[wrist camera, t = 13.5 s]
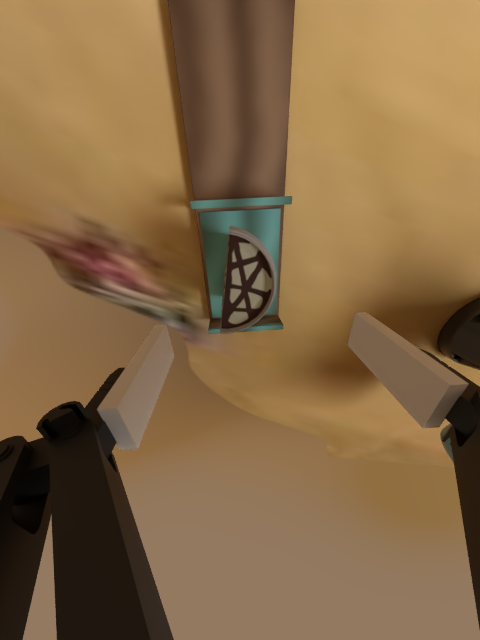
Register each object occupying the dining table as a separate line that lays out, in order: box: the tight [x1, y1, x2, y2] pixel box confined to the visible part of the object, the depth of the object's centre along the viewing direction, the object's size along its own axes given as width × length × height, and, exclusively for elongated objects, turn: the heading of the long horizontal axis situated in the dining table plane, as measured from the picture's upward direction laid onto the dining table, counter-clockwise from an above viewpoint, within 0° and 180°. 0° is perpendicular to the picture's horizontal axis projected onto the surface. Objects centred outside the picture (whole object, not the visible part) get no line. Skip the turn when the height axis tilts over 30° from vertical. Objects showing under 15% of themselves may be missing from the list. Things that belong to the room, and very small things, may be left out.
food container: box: [220, 225, 276, 334], centre depth 26 cm, size 12×6×10 cm, turn 173°
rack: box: [168, 0, 295, 334], centre depth 25 cm, size 12×36×5 cm, turn 3°
